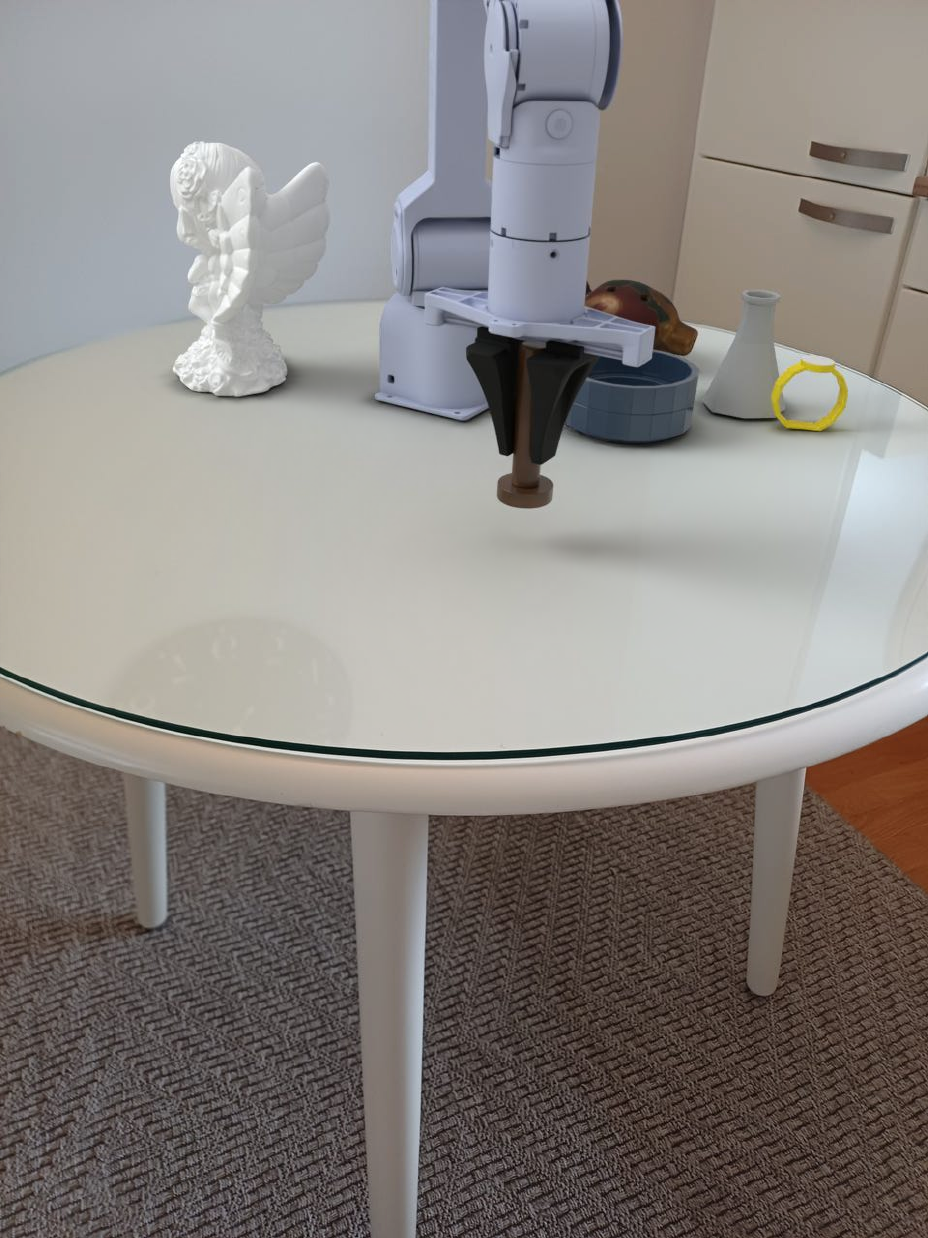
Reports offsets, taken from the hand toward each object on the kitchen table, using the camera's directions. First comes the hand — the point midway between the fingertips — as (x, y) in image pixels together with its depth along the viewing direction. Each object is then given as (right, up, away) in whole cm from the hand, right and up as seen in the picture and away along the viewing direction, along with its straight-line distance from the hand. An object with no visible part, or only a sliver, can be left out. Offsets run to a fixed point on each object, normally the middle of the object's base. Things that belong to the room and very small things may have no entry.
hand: (526, 454), depth 69 cm
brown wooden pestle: (0, -3, +1) cm, 3 cm away
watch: (+25, +6, +24) cm, 35 cm away
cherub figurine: (-24, +12, +32) cm, 42 cm away
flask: (+21, +8, +28) cm, 36 cm away
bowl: (+10, +6, +23) cm, 26 cm away
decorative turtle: (+11, +15, +39) cm, 43 cm away
